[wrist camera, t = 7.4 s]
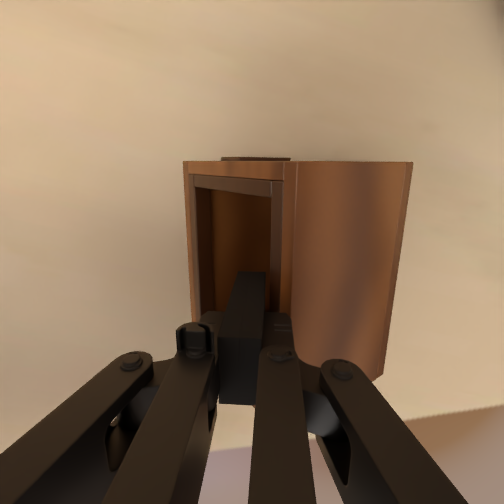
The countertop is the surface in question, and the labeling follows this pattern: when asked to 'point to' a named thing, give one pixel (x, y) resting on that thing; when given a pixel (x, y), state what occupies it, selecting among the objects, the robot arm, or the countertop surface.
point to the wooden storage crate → (302, 246)
